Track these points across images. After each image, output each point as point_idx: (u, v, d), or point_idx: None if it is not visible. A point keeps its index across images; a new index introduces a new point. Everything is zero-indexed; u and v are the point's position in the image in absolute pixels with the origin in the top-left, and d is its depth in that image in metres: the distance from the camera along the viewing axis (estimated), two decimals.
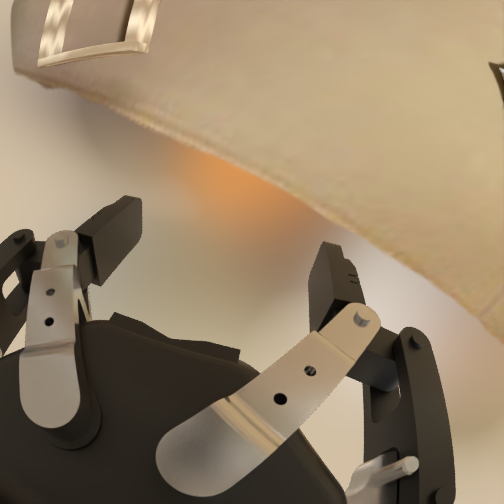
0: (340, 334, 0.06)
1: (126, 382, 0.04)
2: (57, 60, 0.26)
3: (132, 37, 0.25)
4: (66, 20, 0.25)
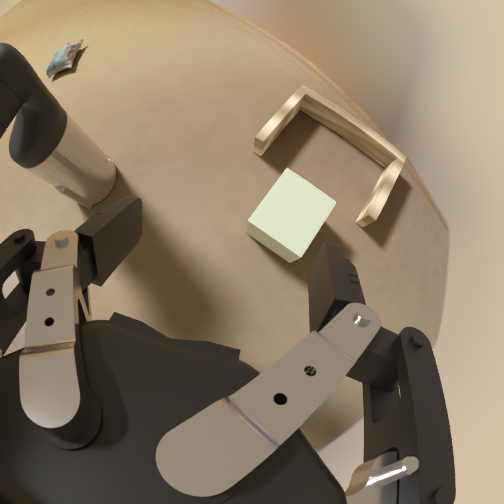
0: (340, 334, 0.06)
1: (126, 382, 0.04)
2: (378, 135, 0.39)
3: (297, 91, 0.40)
4: (369, 199, 0.43)
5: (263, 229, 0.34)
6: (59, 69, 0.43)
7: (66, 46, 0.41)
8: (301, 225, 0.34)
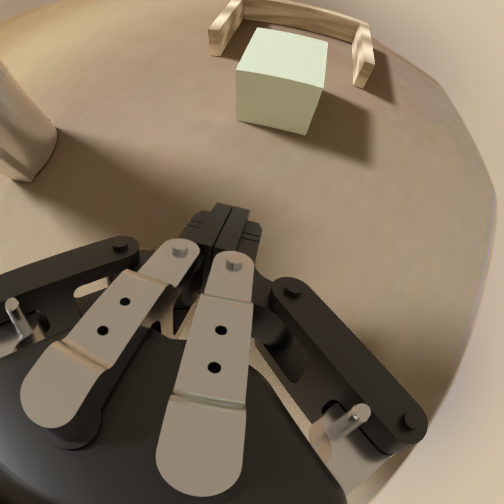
0: (223, 286, 0.07)
1: (126, 382, 0.04)
2: (332, 11, 0.28)
3: None
4: (353, 64, 0.31)
5: (260, 72, 0.20)
6: None
7: None
8: (304, 62, 0.21)
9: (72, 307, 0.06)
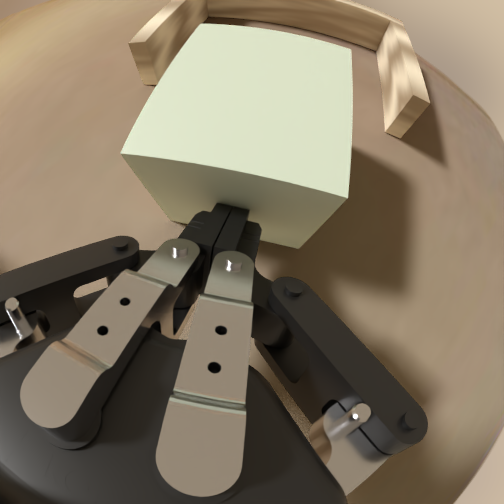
0: (223, 286, 0.07)
1: (126, 382, 0.04)
2: (346, 0, 0.16)
3: None
4: (384, 90, 0.19)
5: (177, 155, 0.08)
6: None
7: None
8: (298, 105, 0.09)
9: (72, 307, 0.06)
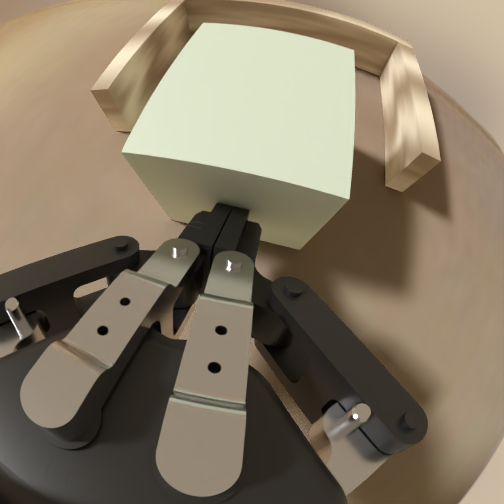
0: (223, 286, 0.07)
1: (126, 382, 0.04)
2: (347, 17, 0.15)
3: (169, 2, 0.15)
4: (387, 130, 0.18)
5: (178, 154, 0.08)
6: None
7: None
8: (301, 105, 0.09)
9: (72, 307, 0.06)
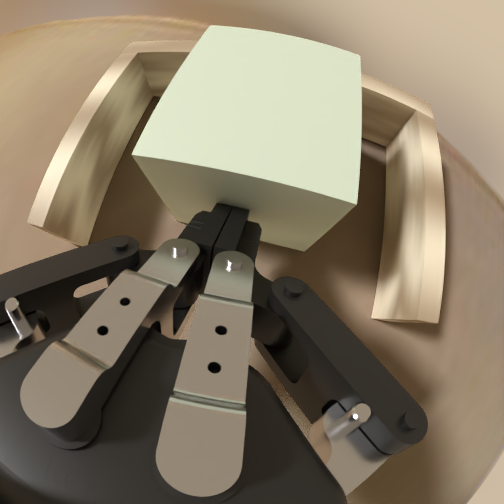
0: (223, 286, 0.07)
1: (126, 382, 0.04)
2: None
3: (119, 58, 0.13)
4: (385, 242, 0.16)
5: (189, 158, 0.09)
6: None
7: None
8: (309, 111, 0.09)
9: (72, 307, 0.06)
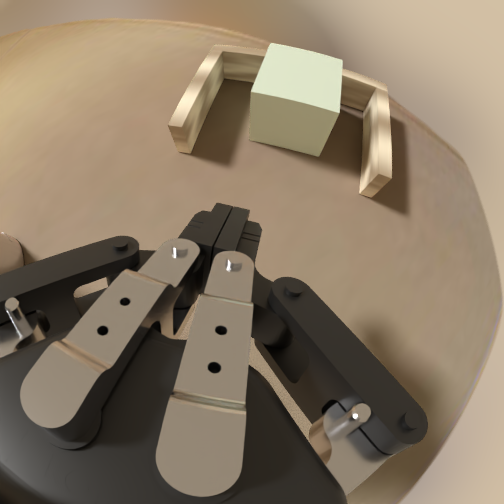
0: (223, 286, 0.07)
1: (126, 382, 0.04)
2: None
3: (210, 52, 0.26)
4: (363, 155, 0.28)
5: (275, 94, 0.21)
6: None
7: None
8: (319, 83, 0.21)
9: (72, 307, 0.06)
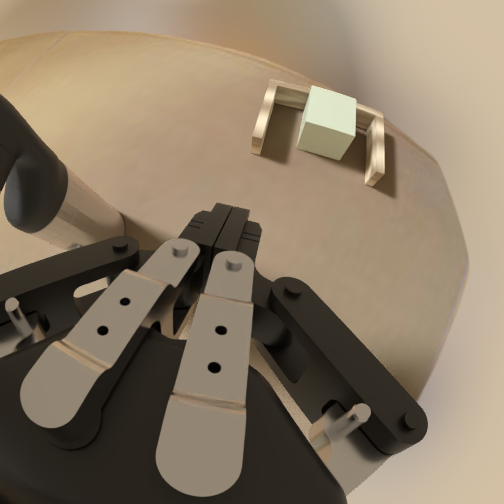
0: (223, 286, 0.07)
1: (126, 382, 0.04)
2: None
3: (269, 85, 0.42)
4: (366, 160, 0.44)
5: (319, 124, 0.37)
6: None
7: None
8: (343, 116, 0.38)
9: (72, 307, 0.06)
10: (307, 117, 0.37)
